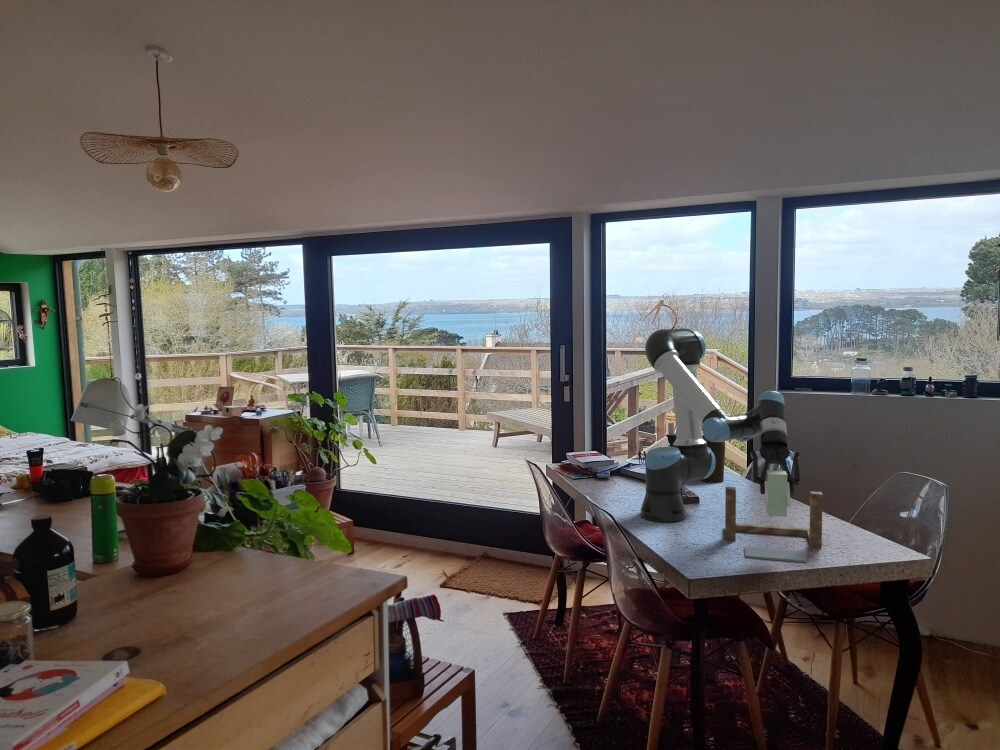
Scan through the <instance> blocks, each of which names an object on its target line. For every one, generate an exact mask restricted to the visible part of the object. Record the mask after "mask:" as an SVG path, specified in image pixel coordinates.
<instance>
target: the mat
mask: <svg viewBox="0 0 1000 750" xmlns="http://www.w3.org/2000/svg"><path fill="white" fill-rule="evenodd" d="M744 556H745V558H746V559H755V558H756V560H757V559H758V560H768V561H780V562H782V561H783V562H792V563H793V562H795V563H802V564H804V563H805V564H807V563H808V562H807V561H808V560H807V556H806V555H805V551H803V550H791V549H781V548H780V549H778V548H767V547H766V548H765V547H753V546H744Z"/></svg>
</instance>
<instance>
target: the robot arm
mask: <svg viewBox="0 0 1000 750" xmlns="http://www.w3.org/2000/svg"><path fill="white" fill-rule="evenodd" d="M644 345H645V347H644V351H645V356H646V359H647V361H648V363H649V364H650V365H651V368H653V369H654V371H656V372H657V373H661V375H663V377H664V379H666V381H668V383H669V384H670V385H671V387H672V393H673V394H672V395H673V397H672V398H673V407H674V417H675V418H674V419H675V430H676V431H675V432H676V439H675V441H674V442H673V443H672V446H663V447H662V446H659V447H655V448H654V447H653V448H652V449H650V450H648V451H647V452H646V455H645V463H644V464H645V495H644V498H643V501H642V504H641V506H640V516H641V518H643V519H645V520H648V521H652V522H659V523H674V522H680V521H683V520H685V519H686V516H687V515H686V513H687V512H686V507H685V505H684V502H683V499H682V496H681V484H686V483H690V482H691V483H692V482H699V481H701V480H702V479H705V478H707V477H709V476H710V475H711V474H712V473H713V471H714V469H715V463H716V461H715V456H714V453H712V450H711V449H710V448H708V447H707V442H706V441H705V440H704V439H703V438H702V436H703V435H704V437H705V438H706V439H707V440H708V441H710V442H723V441H725V442H726V441H733V440H736V441H739V442H741V443H745V442H747V441H749V440H752V439H754V438H755V437H756V436H758V435H760V437H759V438H760V448H759V450H753V449H752V450H751V451H750V458H751V460H752V482H753V484H759V489H760V490H759V491H760V494H761V495H764V506H765V507H767V506H768V482H767V470H770V467H771V466H770V465H773V464H776V465H779V467H780V468H781V471H786V473H787V508H790V507H791V502H792V501H791V496H792V497H793V496H794V495H795V487H794V486H799V485H800V481H801V475H800V466H799V459H800V455H801V453H800V452H798V451H796V452H792V451H791V450H790V448H789V443H788V429H787V419H786V403H785V398H784V395H783V394H782V393H780V392H779V391H775V390H767V391H764V392H762V393H760V394H759V396H758V402H757V403H758V404H757V405H756V406H754V407H753V408H752V409H751V410H749V411H747V412H744V413H742V414H734V415H727V413H726V412H725V411H724V410H723V409H722V408H721V406H720V405H719V404H718V403H717V401H715V399H714V398H713V397H712V396H711V395H710V394H709V392H708V391H707V390H706V389H705V387H704V386H703V385H702V384H701V383H700V381H698V376H697V375H698V374H697V370H698V368H699V367H700V366H701V359H703V357H704V355H705V354H706V349H707V347H706V342H705V339H704V337H703V335H702V334H701V333H700V332H699V331H697V329H696V330H695V329H693V328H686V327H685V328H683V327H682V328H667V329H666V328H663V329H658V330H656V331H654V332H653V333H651V334H650V335H649V336H648V338H647V340H646V342H645V344H644ZM760 456H761V458H762V459H764V465H763V468H762V470H761V471H762V472H761V475H760V477H759V467H758V466H759V464H758V463H759V461H758V460H759V457H760ZM789 457H790V460H791V461H792V470H793V476H792V473H791V471H790V468H789V467H788V464H787V459H788V458H789ZM793 477H794V478H793Z"/></svg>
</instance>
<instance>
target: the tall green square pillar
mask: <svg viewBox="0 0 1000 750" xmlns="http://www.w3.org/2000/svg"><path fill="white" fill-rule="evenodd" d="M766 481H767V482H768V506H766V514H767V516H769V517H771V516H772V517H782V518H783V517H788V507H787V473H786V471H782V470H777V469H776V470H775V469H768V470H767V476H766Z"/></svg>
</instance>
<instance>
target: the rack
mask: <svg viewBox="0 0 1000 750" xmlns="http://www.w3.org/2000/svg"><path fill="white" fill-rule="evenodd" d="M809 493H810V494H809V528H806V527H805V528H803V527H794V526H793V527H792V526H777V525H776V526H775V525H763V524H749V523H736V521H737V517H736V515H737V487H736V486H725V503H724V504H725V511H724V512H725V514H724V515H725V516H724V518H725V519H724V520H725V521H724V523H725V524H724V526H725V527H724V531H725V532H724V533H725V534H724V539H725V541H730V542H736V535H737V534H736V532H737V533H738V532H739V533H740V532H742V533H753V534H765V535H779V536H780V535H781V536H795V537H806V538H808V539H807V541H808V544H809V547H810V548H818V547H820V548H821V547H822V545H823V543H822V542H823V499H824V498H823V492H822V491H813V490H812V491H811V490H810V491H809ZM820 548H819V549H820ZM821 549H822V548H821Z"/></svg>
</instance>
